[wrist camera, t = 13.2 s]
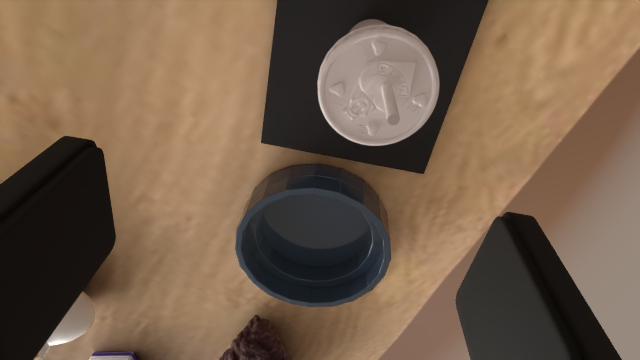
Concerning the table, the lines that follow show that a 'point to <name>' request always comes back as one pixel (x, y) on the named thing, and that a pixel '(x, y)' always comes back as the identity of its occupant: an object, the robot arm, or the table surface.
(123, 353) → the supplement box
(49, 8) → the table surface
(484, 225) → the table surface
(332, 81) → the smoothie
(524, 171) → the table surface
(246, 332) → the pine cone
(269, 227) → the dish
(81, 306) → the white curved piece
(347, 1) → the mat
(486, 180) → the table surface
